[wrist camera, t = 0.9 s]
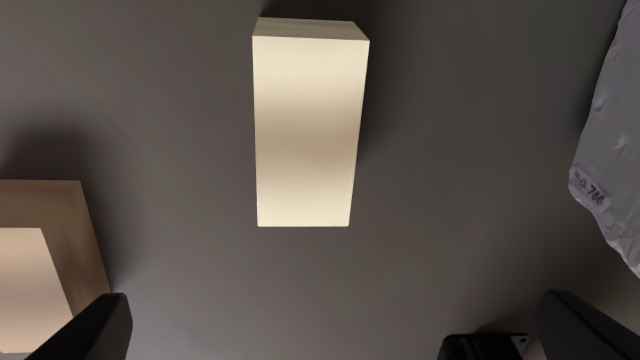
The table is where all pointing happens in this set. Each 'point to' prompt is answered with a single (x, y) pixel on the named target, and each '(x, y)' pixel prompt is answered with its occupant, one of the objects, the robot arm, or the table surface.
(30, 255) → the brick
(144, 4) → the table surface
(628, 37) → the stone block
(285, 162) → the ash brick
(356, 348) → the table surface
